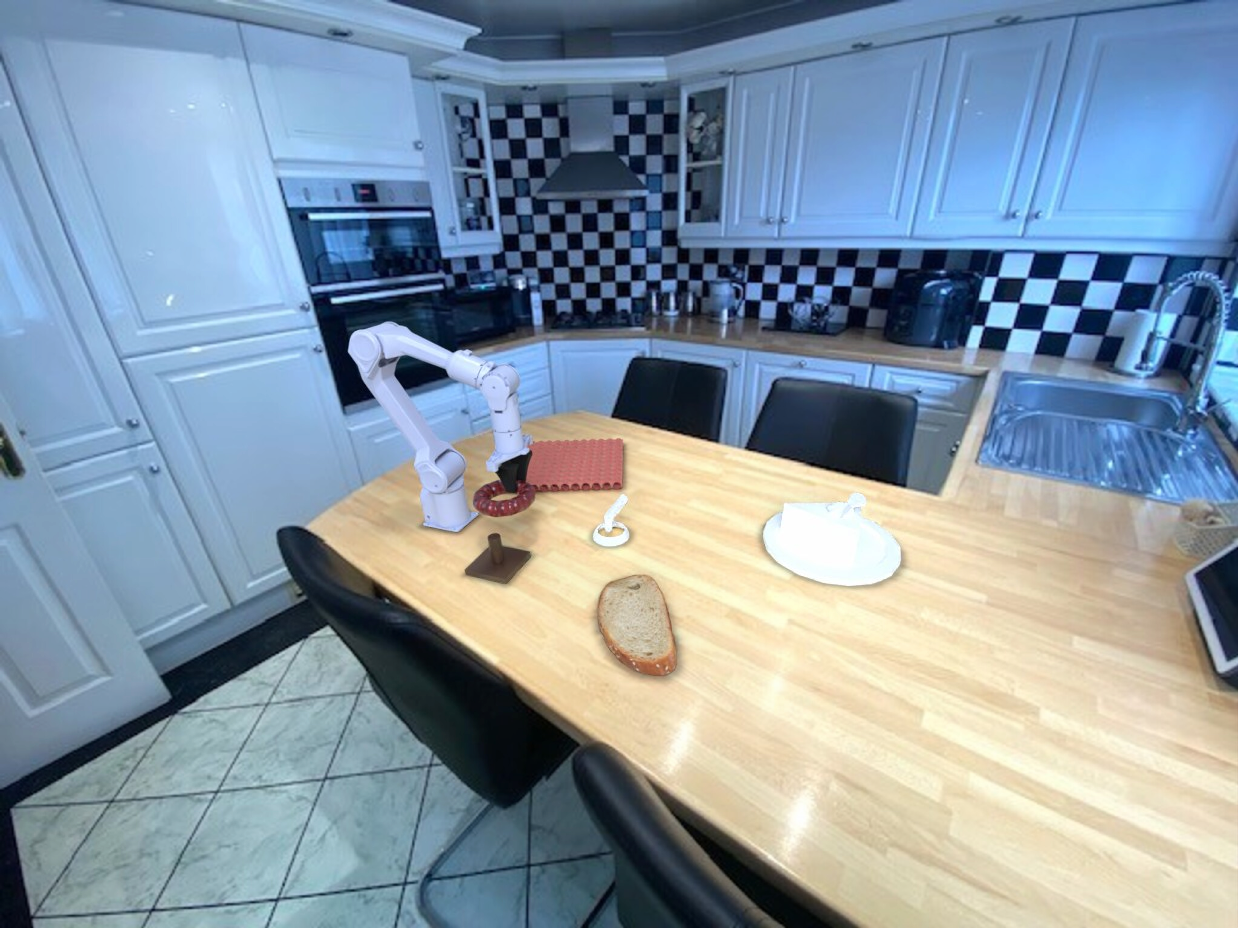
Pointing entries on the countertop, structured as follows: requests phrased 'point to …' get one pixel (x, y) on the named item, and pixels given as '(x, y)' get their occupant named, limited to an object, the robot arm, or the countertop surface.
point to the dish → (832, 543)
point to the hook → (612, 525)
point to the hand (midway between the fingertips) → (516, 487)
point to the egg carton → (576, 465)
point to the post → (497, 561)
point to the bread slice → (637, 624)
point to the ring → (503, 507)
